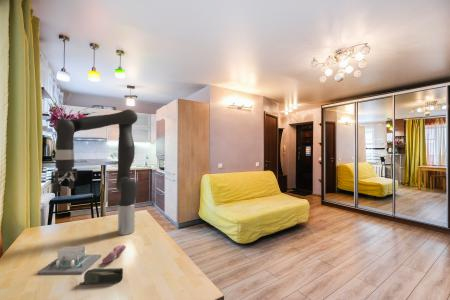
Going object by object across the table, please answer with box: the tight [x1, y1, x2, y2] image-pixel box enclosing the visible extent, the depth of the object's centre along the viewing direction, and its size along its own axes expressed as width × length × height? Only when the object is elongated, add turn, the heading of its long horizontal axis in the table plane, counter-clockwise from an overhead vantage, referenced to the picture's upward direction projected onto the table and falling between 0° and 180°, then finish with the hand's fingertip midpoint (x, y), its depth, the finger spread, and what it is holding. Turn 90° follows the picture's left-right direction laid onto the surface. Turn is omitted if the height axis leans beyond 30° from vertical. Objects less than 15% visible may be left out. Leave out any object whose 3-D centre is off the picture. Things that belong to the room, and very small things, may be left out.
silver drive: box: [57, 245, 86, 265], centre depth 89 cm, size 4×9×6 cm, turn 91°
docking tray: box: [37, 250, 102, 275], centre depth 89 cm, size 13×18×4 cm
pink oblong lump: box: [101, 244, 126, 264], centre depth 94 cm, size 10×5×7 cm, turn 171°
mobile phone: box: [79, 267, 124, 285], centre depth 78 cm, size 5×3×15 cm
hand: (65, 190), depth 102 cm, fingers open, 8 cm apart
